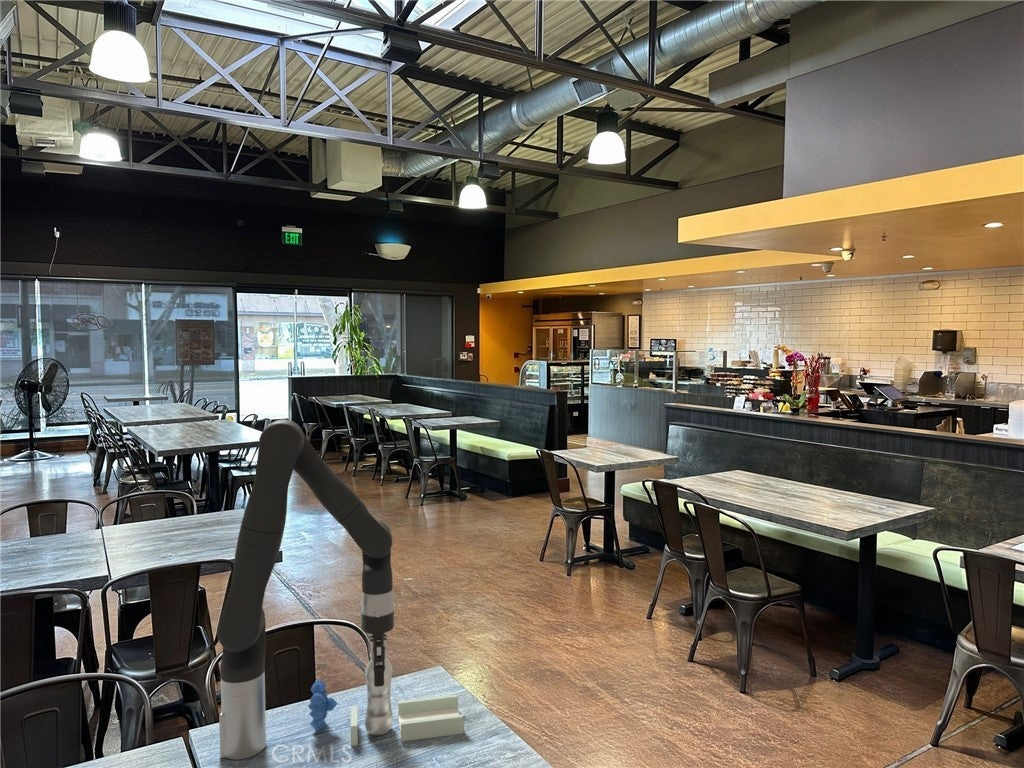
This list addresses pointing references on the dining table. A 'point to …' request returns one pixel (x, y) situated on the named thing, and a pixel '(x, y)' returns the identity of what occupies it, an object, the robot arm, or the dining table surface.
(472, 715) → the dining table surface
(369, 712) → the silver metal bottle
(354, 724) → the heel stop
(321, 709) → the grapes
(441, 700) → the cradle
